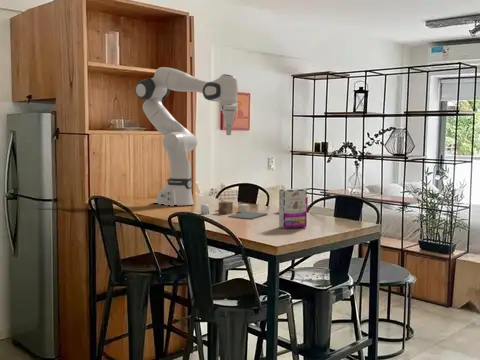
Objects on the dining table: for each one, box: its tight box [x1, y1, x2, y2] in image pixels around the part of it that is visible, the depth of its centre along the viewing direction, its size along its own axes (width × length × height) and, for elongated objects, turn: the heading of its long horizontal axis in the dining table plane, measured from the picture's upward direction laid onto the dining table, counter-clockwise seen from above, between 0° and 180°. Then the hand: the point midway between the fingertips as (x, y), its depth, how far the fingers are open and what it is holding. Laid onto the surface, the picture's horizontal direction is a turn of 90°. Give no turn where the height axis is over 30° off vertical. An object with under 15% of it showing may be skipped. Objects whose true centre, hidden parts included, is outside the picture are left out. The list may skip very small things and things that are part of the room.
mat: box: [227, 211, 268, 221], centre depth 260 cm, size 12×18×1 cm, turn 152°
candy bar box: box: [278, 187, 308, 230], centre depth 231 cm, size 11×5×16 cm, turn 114°
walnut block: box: [218, 200, 234, 215], centre depth 267 cm, size 5×5×6 cm
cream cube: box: [238, 203, 251, 213], centre depth 274 cm, size 4×4×4 cm
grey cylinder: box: [200, 203, 210, 215], centre depth 264 cm, size 4×4×5 cm
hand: (228, 135), depth 272 cm, fingers open, 8 cm apart
